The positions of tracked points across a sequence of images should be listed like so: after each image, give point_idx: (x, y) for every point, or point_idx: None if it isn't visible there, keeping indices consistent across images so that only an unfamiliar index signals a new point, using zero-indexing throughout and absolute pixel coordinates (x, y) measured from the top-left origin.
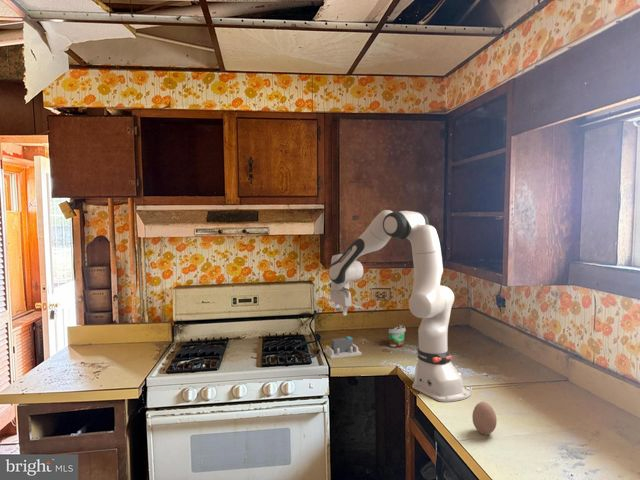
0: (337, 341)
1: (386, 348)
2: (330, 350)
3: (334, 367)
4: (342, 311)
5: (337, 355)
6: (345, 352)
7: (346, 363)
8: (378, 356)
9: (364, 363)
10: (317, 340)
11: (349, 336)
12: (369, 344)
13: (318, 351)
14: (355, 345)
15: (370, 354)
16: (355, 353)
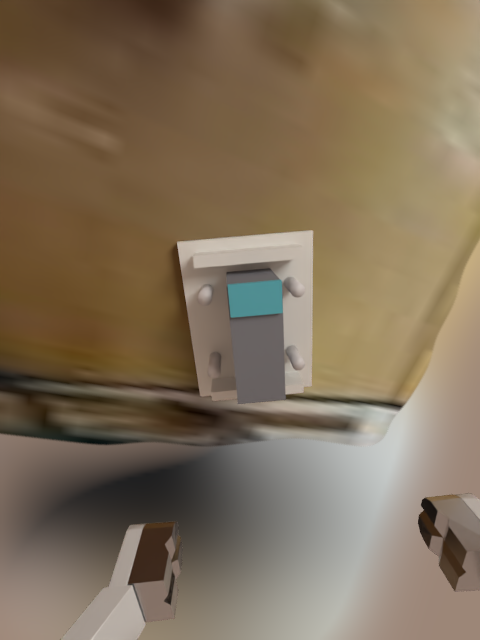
0: (284, 379)
1: (255, 5)
2: None
3: (402, 388)
4: (457, 590)
5: (303, 356)
6: None
7: (385, 335)
8: (372, 142)
9: (425, 259)
10: (15, 383)
11: (228, 289)
12: (139, 102)
13: (193, 408)
14: (263, 251)
15: (323, 177)
16: (310, 266)
